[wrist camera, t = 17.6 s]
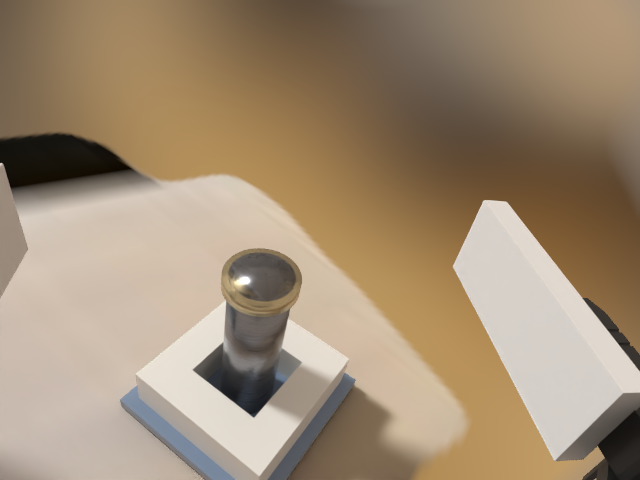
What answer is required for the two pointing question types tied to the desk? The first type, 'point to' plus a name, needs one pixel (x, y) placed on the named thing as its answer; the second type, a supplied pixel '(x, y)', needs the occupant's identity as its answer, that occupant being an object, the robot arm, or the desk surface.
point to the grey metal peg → (255, 323)
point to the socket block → (227, 417)
